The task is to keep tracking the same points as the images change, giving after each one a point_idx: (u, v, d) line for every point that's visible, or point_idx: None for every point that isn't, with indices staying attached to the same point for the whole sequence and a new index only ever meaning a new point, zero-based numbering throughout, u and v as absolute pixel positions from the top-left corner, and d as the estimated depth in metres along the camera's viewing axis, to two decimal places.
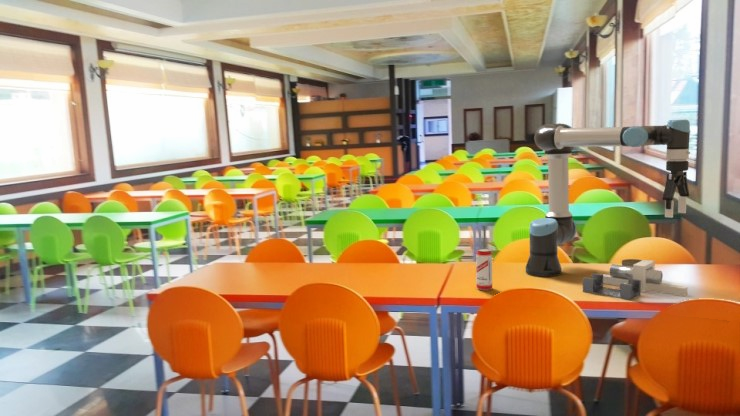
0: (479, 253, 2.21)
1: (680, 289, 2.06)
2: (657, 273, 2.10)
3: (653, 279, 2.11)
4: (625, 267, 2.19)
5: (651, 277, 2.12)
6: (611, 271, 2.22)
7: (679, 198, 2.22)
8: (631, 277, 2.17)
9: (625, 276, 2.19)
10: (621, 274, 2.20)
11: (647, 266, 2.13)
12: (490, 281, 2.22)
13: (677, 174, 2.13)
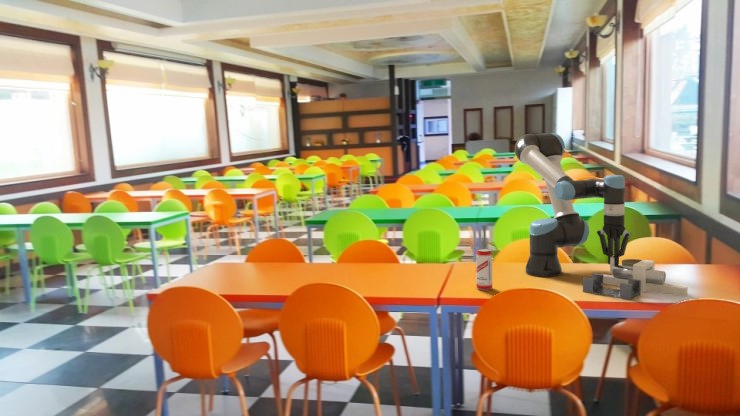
0: (479, 253, 2.21)
1: (680, 289, 2.06)
2: (660, 274, 2.09)
3: (656, 280, 2.10)
4: (628, 268, 2.18)
5: (654, 278, 2.11)
6: (614, 272, 2.21)
7: None
8: None
9: (628, 277, 2.18)
10: (624, 275, 2.19)
11: (647, 266, 2.13)
12: (490, 281, 2.22)
13: (605, 226, 2.23)
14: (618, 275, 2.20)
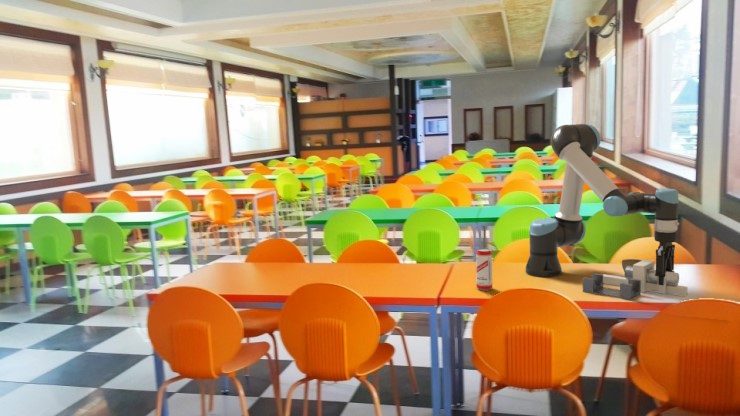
0: (479, 253, 2.21)
1: (680, 289, 2.06)
2: (674, 275, 2.06)
3: (669, 282, 2.07)
4: None
5: (667, 279, 2.07)
6: (626, 273, 2.18)
7: None
8: (647, 279, 2.13)
9: None
10: None
11: (647, 266, 2.13)
12: (490, 281, 2.22)
13: (666, 245, 2.06)
14: (630, 276, 2.17)
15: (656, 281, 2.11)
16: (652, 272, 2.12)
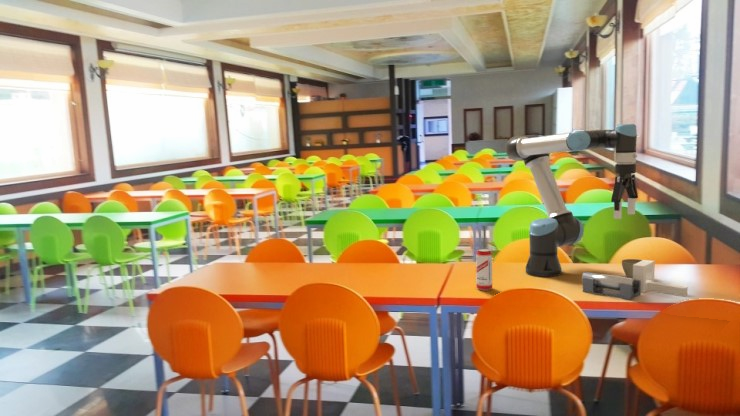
0: (479, 253, 2.21)
1: (680, 289, 2.06)
2: (629, 281, 2.06)
3: None
4: (597, 274, 2.15)
5: None
6: None
7: (628, 200, 2.29)
8: (603, 285, 2.12)
9: (597, 283, 2.14)
10: None
11: (647, 266, 2.13)
12: (490, 281, 2.22)
13: (625, 177, 2.20)
14: None
15: (612, 286, 2.10)
16: (609, 278, 2.11)
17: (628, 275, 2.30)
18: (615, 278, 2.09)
